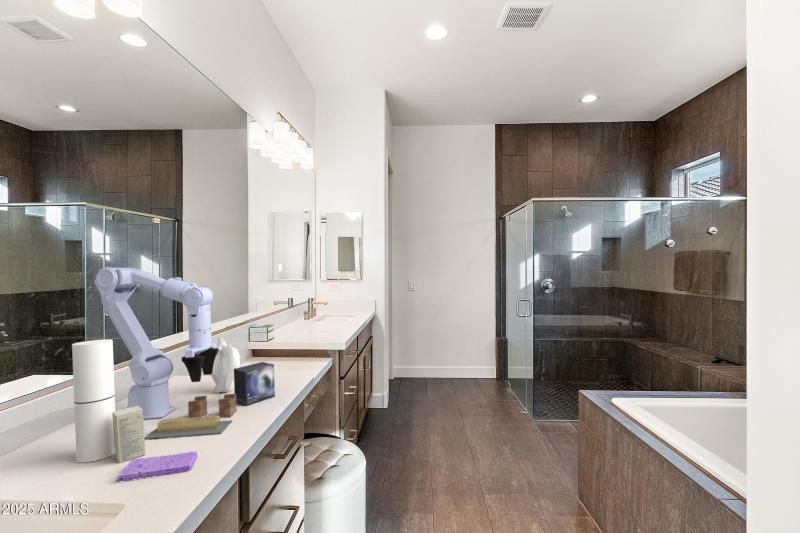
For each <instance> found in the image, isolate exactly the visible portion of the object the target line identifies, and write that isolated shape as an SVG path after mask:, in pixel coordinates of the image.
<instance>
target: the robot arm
mask: <svg viewBox="0 0 800 533" xmlns="http://www.w3.org/2000/svg"><path fill="white" fill-rule="evenodd" d="M93 283H94V285H95V287H96V288H97V290H98V292H99V293H100V299H101V304H102V307H103V308H104V310H105V312H106V313H107V315H108V317H109V318H110V320H111V322H112V324H113V326H114V327H115V329H116V330H117V332H118V335H119V336H120V337H121V339H122V341H123V343H124V345H125V346H126V348H127V350H128V351H129V354H130V355H131V356H132V357H131V360H130V362H129V363H128V367H129V370H130V372H131V374H130V375H131V379H132V381H133V382H134V384H133V385H131V387H130V388H129V391H128V394H127V405H128V407H127V408H130V407H134V406H139V407H141V408H142V410H143V420H149V419H161V418H160V417H162V418H165V416H166V414H167V415H168V414H169V412H170V413H171V412H173V411H174V410H175V409H176V406H170V394H169V393H170V390H169V389H170V388H169V380H170V377H171V375H172V374H173V371H174V370H175V369H174V368H175V366H174V362H173V361H172V359H171V358H169V357H168V356H167V355H165V352H164V351H163V350H161V349H158V348H156V347H154V345H153V344H152V343H151V342H152V341H150V339H149V337H148V336H147V334H146V332H145V329H144V328H143V326H142V325H141V324H140V322H139V320H138V318H137V317H136V315H135V314H134V311H133V310H132V308H131V306H130V305H129V303H128V300H129V299H130V297H131V296H132V295H133V292H135V291H136V289H137V287H138V286H139V285H140V286H142V287H143V286H144V287H147V288H150V289H155V290H157V291H161V294H162V296H163V297H165V298H167V299H170V300H174V301H176V302H179V303H182V304H183V305H184V306H185V308H186V313H187V318H188V320H187V322H188V341H189V342H188V343H189V344H188V345H189V346H188V347H187V349H185V350H184V356H181V362H182V363H183V364H184V366H185V367H186V369H187V372H188V375H189V378H190V381H191V383H199V382H201V381H202V380H201V379H202V374H203V376H211V374H212V371H213V366H214V361H215V358H216V356H217V353H218V351H219V348H217V344H216V342H215V340H212V337H213V336H212V335H213V334H212V317H211V313H212V312H211V305H212V304H213V302H214V300H215V293H214V291H213V289H211V288H210V287H208V286H205V285H204V286H200V287H198V286H197V283H195V282H192V283H190V282H186V281H183V278H182V277H179V276H177V277H171V278H170V277H169V278H168V279H164V278H162V277H160V276H158V275H155V274H153V273H150V272H147V271H145V270H143V269H141V268H135V267H134V266H133V267H131V266H129V267H128V266H127V267H111V266H105V267H102V268H101V269H99V271H98V272H97V274H96V277H95V279H94V282H93Z"/></svg>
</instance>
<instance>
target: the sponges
mask: <svg viewBox="0 0 800 533" xmlns="http://www.w3.org/2000/svg"><path fill="white" fill-rule="evenodd" d="M197 458H198V450H196V451H188V452H180V453H177V454H167V455H161V456H151V457H150V456H149V457H145V458H141V457H140V458H133V459H130V460H129V462H128V464H127V465H126V466H125V467H124V468H123V470H122V471H121V472H120V473H119V474H118V476H117V477H118V482H119V483H121V482H120V481H124V482H128V481H127V480H131V481H134V480H133V479H137V480H140V479H139V478H143V479H147V478H146V477H150V478H154V477H153V476H156V477H161V476H168V475H175V474H182V473H187V472H190V471H191V470H193V467H194V465H195V462H196V461H197Z"/></svg>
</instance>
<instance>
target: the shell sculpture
mask: <svg viewBox="0 0 800 533" xmlns="http://www.w3.org/2000/svg"><path fill="white" fill-rule="evenodd" d="M216 348H219V351H218V353H217V356H216V358H215V361H214V366H213V371H212V374H211V375H210V377H211V378H212V380H213V381H214V383H215V386H214V392H215V393H216V392H217V393H216V394H220V393H219V392H223V393H224V392H227V393H229V392H231V391H232V390H233V389H234V369H235V368H239V367H240V365H241V363H240V359H241V355H240V354H239V350H238V349H237V348H236V347H233V346H232V345H231V344H230V343H228V344H227V343H226V341H225V340H223V337H222V336H220V337H218V341H217V345H216ZM230 390H231V391H230Z"/></svg>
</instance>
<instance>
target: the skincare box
mask: <svg viewBox="0 0 800 533" xmlns="http://www.w3.org/2000/svg"><path fill="white" fill-rule="evenodd" d="M112 416H113V430H114V444H115V454H114V457H116V458H115V460H116V459H117V460H116V462H117V463H118V462H119V463H118V464H121V463H124V462H126V461H127V462H128V461H131V460H133V459H137V458H139V457H142V456H144V455H145V456H146V452H147V451H146V442H145V441H146V440H145V438H144V437H145V426H144V424H145V423H144V419H143V410H142V408H141V407H139V406H134V407H130V408H128V407H127V408H123V409H118V410H115V412H112Z"/></svg>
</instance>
